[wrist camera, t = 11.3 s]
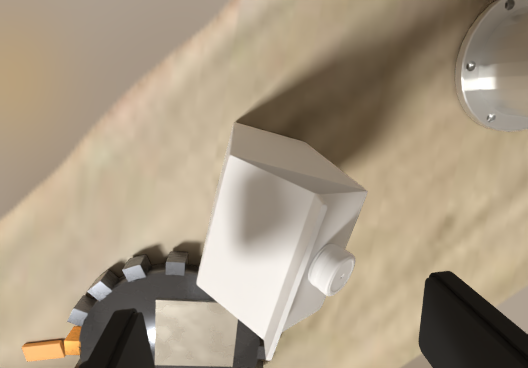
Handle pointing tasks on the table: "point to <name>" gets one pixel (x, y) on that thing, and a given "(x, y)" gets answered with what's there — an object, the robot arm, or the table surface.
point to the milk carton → (277, 232)
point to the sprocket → (166, 317)
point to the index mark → (44, 350)
